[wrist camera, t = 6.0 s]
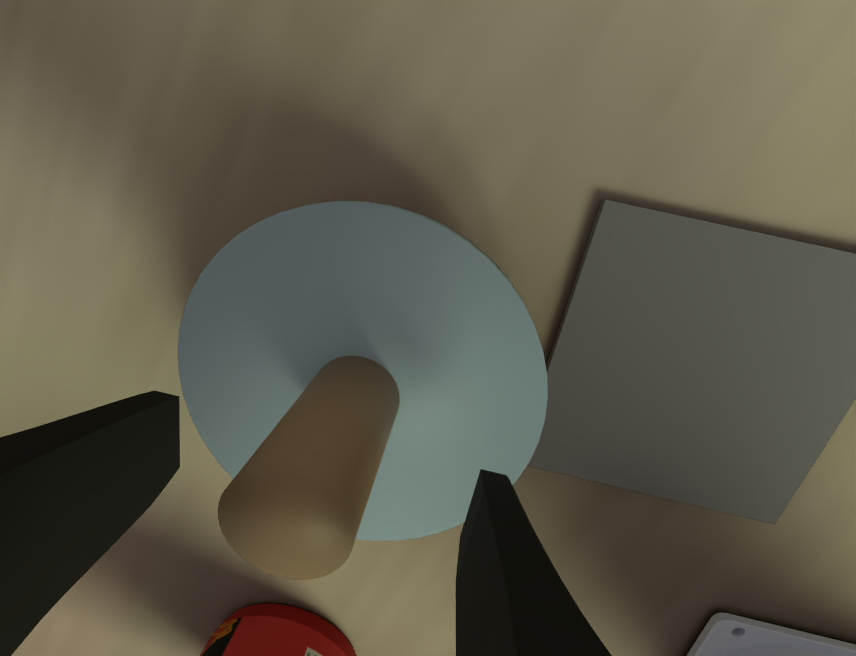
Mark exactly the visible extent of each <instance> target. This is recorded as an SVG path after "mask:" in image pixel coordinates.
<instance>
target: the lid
mask: <svg viewBox="0 0 856 656" xmlns="http://www.w3.org/2000/svg"><path fill="white" fill-rule="evenodd" d="M178 366H179V376H180V381H181V386H182V391H183V395H184V398H185V401H186V404H187V407H188V410H189V413H190V416H191V418H192V420H193V422H194V424H195V426H196V428H197V430H198V433H199V434H200V436H201V438H202V439H203V441H204V442H205V444H206V446H207V447H208V449H209V450H210V452H211V453H212V455H213V456H214V457H215V458H216V460H217V461H218V462H219V463H220V465H221V466H222V467H223V468H224V470H225V471H226V472H227V473H228V474H229V475H230V476H231V477H232V478H233V480H232V481H231V483H230V484H229V485H228V486H227V488H226V489H225V490H224V492H223V494H222V496H221V498H220V501H219V506H218V519H219V524H220V527H221V530H222V533H223V535H224V537H225V538H226V540H227V542H228V543H229V545H230V546H231V547H232V548H233V549H234V551H235V552H236V553H237V554H238V555H239V556H240V557H242V558H243V559H244V560H245V561H247V562H248V563H250V564H251V565H253V566H254V567H256V568H258V569H260V570H262V571H264V572H266V573H269V574H271V575H274V576H277V577H282V578H286V579H294V580H307V579H314V578H319V577H322V576H325V575H328V574H330V573H332V572H334V571H335V570H336V569H338V568H339V567H340V566H341V565H342V564H343V563H344V562H345V561H346V560H347V558H348V557H349V555H350V553H351V550H352V547H353V544H354V541H355V539H360V540H370V541H396V540H406V539H415V538H419V537H424V536H428V535H433V534H436V533H439V532H442V531H445V530H448V529H451V528H454V527H456V526H458V525H460V524H462V523H464V522H465V519H466V516H467V512H468V509H469V506H470V502H471V499H472V496H473V493H474V489H475V486H476V483H477V479H478V476H479V473H480V469H483V470H487V471H491V472H496V473H500V474H504V475H507V476H508V478H509V479H510V481H511V483H512V485H513V484H514V483H515V482H516V481H517V480H518V478H519V477H520V475H521V474H522V472H523V471H524V469H525V468H526V466H527V465H528V463H529V462H530V460H531V457H532V455H533V453H534V451H535V449H536V447H537V444H538V442H539V439H540V436H541V432H542V429H543V425H544V422H545V416H546V408H547V400H548V386H547V371H546V365H545V359H544V353H543V349H542V346H541V343H540V340H539V337H538V334H537V331H536V328H535V325H534V323H533V320H532V318H531V316H530V314H529V312H528V310H527V308H526V306H525V304H524V302H523V300H522V298H521V297H520V295H519V294H518V292H517V291H516V289H515V288H514V286H513V285H512V283H511V282H510V280H509V279H508V278H507V276H506V275H505V274H504V273H503V272H502V271H501V270H500V269H499V267H498V266H497V265H496V264H495V263H494V262H493V261H492V260H491V259H490V258H489V257H488V256H487V255H486V254H485V253H484V252H482V251H481V250H480V249H479V248H478V247H476V246H475V245H474V244H473V243H472V242H470V241H469V240H468V239H466V238H465V237H463V236H462V235H460V234H458V233H457V232H455V231H454V230H452V229H451V228H449V227H447V226H446V225H444V224H442V223H439V222H437V221H435V220H433V219H431V218H429V217H426V216H424V215H422V214H420V213H416V212H413V211H410V210H407V209H403V208H400V207H397V206H393V205H387V204H381V203H375V202H369V201H333V202H324V203H315V204H310V205H305V206H301V207H298V208H294V209H290V210H286V211H282V212H280V213H277V214H275V215H273V216H270V217H268V218H266V219H263V220H261V221H259V222H257V223H255V224H254V225H252V226H251V227H249V228H247V229H246V230H244V231H243V232H241V233H239V234H238V235H236V236H235V237H234V238H233V239H232V240H231V241H230V242H228V243H227V244H226V245H225V246H224V247H223V248H222V249H220V250H219V251H218V252H217V254H216V255H215V256H214V257H213V258H212V260H211V261H210V262H209V263H208V264H207V266H206V267H205V268H204V270H203V271H202V273H201V275H200V276H199V278H198V280H197V281H196V283H195V285H194V286H193V288H192V291H191V293H190V296H189V298H188V301H187V303H186V306H185V308H184V312H183V316H182V321H181V325H180V329H179V340H178Z"/></svg>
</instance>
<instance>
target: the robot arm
mask: <svg viewBox="0 0 856 656" xmlns="http://www.w3.org/2000/svg"><path fill="white" fill-rule="evenodd" d="M179 467H180V433H179V396H175V395H171V394H166V393H162V392H158V391H151V392H147V393H143V394H139V395H136V396H132V397H129V398H126V399H123V400H119V401H116V402H113V403H110V404H107V405H104V406H100V407H97V408H94V409H91V410H88V411H85V412H82V413H79V414H76V415H72V416H69V417H66V418H63V419H60V420H57V421H54V422H51V423H48V424H44V425H41V426H38V427H35V428H31V429H28V430H24V431H21V432H18V433H14V434H11V435H7V436H4V437H1V438H0V656H11V655H12V654H13V653H14V651H15V650H16V649H17V648H18V647H19V645H20V644H21V643H22V642H23V641H24V639H25V638H26V637H27V636H28V635H29V633H30V632H31V631H32V630H33V629H34V627H35V626H36V625H37V624H38V623H39V621H40V620H41V619H42V618H43V617H44V616H45V615H46V614H47V613H48V612H49V610H50V609H51V608H52V607H53V606H54V605H55V604H56V603H57V602H58V601H59V600H60V598H61V597H62V596H63V595H64V594H65V593H66V592H67V591H68V590H69V589H70V588H71V587H72V586H73V585H74V584H75V583H76V582H77V581H78V580H79V579H80V578H81V577H82V576H83V575H84V574H85V573H86V572H87V571H88V570H89V569H90V568H91V567H92V566H93V565H94V564H95V563H96V562H97V561H98V559H99V558H100V557H101V556H102V555H103V554H104V553H105V552H106V551H107V550H108V549H109V548H110V547H111V546H112V545H113V544H114V543H115V542H116V541H117V540H118V539H119V538H120V537H121V536H122V535H123V534H124V533H125V532H126V531H127V530H128V529H129V528H130V527H131V526H132V525H133V524H134V522H135V521H136V520H137V519H138V518H139V517H140V516H141V515H142V514H143V513H144V512H145V511H146V510H147V509H148V508H149V507H150V506H151V504H152V503H153V502H154V501H155V499H156V498H157V497H158V495H159V494H160V493H161V492H162V490H163V489H164V488H165V486H166V485H167V484H168V482H169V481H170V480H171V478H172V477H173V476H174V474H175V473H176V472H177V470H178V469H179ZM456 656H611V654H610V653H609V651H608V650H607V649H606V647H605V646H604V644H603V643H602V642H601V640H600V639H599V637H598V636H597V634H596V633H595V632H594V630H593V629H592V627H591V626H590V624H589V623H588V621H587V620H586V618H585V617H584V615H583V614H582V612H581V611H580V609H579V607H578V606H577V604H576V603H575V601H574V600H573V598H572V596H571V595H570V593H569V591H568V590H567V588H566V586H565V585H564V583H563V582H562V580H561V578H560V576H559V575H558V573H557V571H556V570H555V568H554V566H553V564H552V563H551V561H550V559H549V557H548V555H547V553H546V552H545V550H544V548H543V546H542V544H541V542H540V541H539V539H538V537H537V535H536V533H535V531H534V529H533V527H532V525H531V523H530V521H529V519H528V517H527V515H526V513H525V511H524V509H523V507H522V505H521V503H520V501H519V499H518V496H517V494H516V492H515V490H514V488H513V486H512V483H511V481H510V479H509V478H508V476H507V475H504V474H500V473H496V472H491V471H487V470H483V469H480V473H479V476H478V479H477V483H476V486H475V489H474V493H473V496H472V499H471V502H470V506H469V509H468V512H467V516H466V519H465V522H464V526H463V529H462V532H461V536H460V544H459V554H458V564H457V574H456ZM687 656H856V645H855V644H851V643H847V642H843V641H839V640H835V639H831V638H827V637H823V636H819V635H814V634H810V633H806V632H802V631H798V630H794V629H790V628H786V627H782V626H778V625H774V624H769V623H765V622H761V621H757V620H753V619H749V618H745V617H741V616H737V615H733V614H728V613H717V614H714V615H713V616H712V617H711V618H710V620H709V621H708V623H707V624H706V626H705V628H704V629H703V631H702V632H701V634H700V635H699V637H698V639H697V640H696V642H695V643H694V645H693V646H692V648H691V650H690V651H689V653H688V654H687Z"/></svg>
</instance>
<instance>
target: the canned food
mask: <svg viewBox="0 0 856 656" xmlns="http://www.w3.org/2000/svg"><path fill="white" fill-rule="evenodd" d="M200 656H356V654H355V652H354V650H353V647H352V646H351V644H350V643H349V642H348V640H347V639H346V638H345V636H344V635H343V634H342V633H341V632H340V631H339V630H338V629H337V628H336V627H334V626H333V625H332V624H330V623H329V622H327V621H326V620H325V619H323V618H321V617H319V616H317V615H315V614H313V613H311V612H309V611H306V610H303V609H301V608H298V607H293V606H289V605H284V604H273V603H268V604H255V605H251V606H247V607H244V608H242V609H239V610H237V611H235V612H234V613H233V614H231V615H230V616H229V617H228V618H227V619H226V620H225V621H224V622H223V623H222V624H221V625H220V626H219V627H218V628H217V629H216V630H215V631H214V633H213V634H212V636H211V637H210V639H209V640H208V642H207V644H206V646H205V647H204V649H203V651H202V653H201V654H200Z"/></svg>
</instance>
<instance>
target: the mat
mask: <svg viewBox="0 0 856 656" xmlns="http://www.w3.org/2000/svg"><path fill="white" fill-rule="evenodd" d="M546 371H547V386H548V400H547V408H546V416H545V422H544V425H543V429H542V432H541V436H540V439H539V442H538V444H537V447H536V449H535V451H534V453H533V455H532V457H531V460H530V462H529V463H528V465H527V466H530V467H535V468H539V469H543V470H547V471H552V472H556V473H560V474H564V475H568V476H573V477H577V478H581V479H585V480H590V481H594V482H598V483H602V484H606V485H611V486H615V487H619V488H623V489H628V490H632V491H636V492H640V493H644V494H649V495H653V496H657V497H661V498H665V499H670V500H674V501H678V502H682V503H687V504H691V505H695V506H699V507H703V508H708V509H712V510H716V511H720V512H725V513H729V514H733V515H737V516H741V517H746V518H750V519H754V520H758V521H763V522H767V523H771V524H775V523H776V522H777V520H778V519H779V517H780V516H781V514H782V512H783V511H784V509H785V508H786V506H787V505H788V503H789V502H790V500H791V498H792V497H793V495H794V494H795V492H796V491H797V489H798V488H799V486H800V484H801V483H802V481H803V480H804V478H805V477H806V475H807V474H808V472H809V470H810V469H811V467H812V466H813V464H814V463H815V461H816V460H817V458H818V456H819V455H820V453H821V452H822V450H823V449H824V447H825V446H826V444H827V442H828V441H829V439H830V438H831V436H832V435H833V433H834V432H835V430H836V428H837V427H838V425H839V424H840V422H841V421H842V419H843V418H844V416H845V414H846V413H847V411H848V410H849V408H850V407H851V405H852V404H853V402H854V400H855V399H856V254H855V253H851V252H846V251H841V250H837V249H832V248H827V247H823V246H818V245H814V244H809V243H804V242H800V241H795V240H790V239H786V238H781V237H777V236H772V235H767V234H763V233H758V232H753V231H749V230H744V229H740V228H735V227H730V226H726V225H721V224H716V223H712V222H707V221H703V220H698V219H693V218H689V217H684V216H680V215H675V214H670V213H666V212H661V211H656V210H652V209H647V208H643V207H638V206H633V205H629V204H624V203H619V202H615V201H610V200H606V199H602V200H601V203H600V206H599V209H598V212H597V215H596V218H595V221H594V224H593V227H592V230H591V233H590V236H589V239H588V242H587V245H586V248H585V251H584V254H583V257H582V260H581V263H580V266H579V269H578V272H577V275H576V278H575V281H574V284H573V287H572V290H571V293H570V296H569V299H568V302H567V305H566V308H565V311H564V314H563V317H562V320H561V323H560V326H559V329H558V332H557V335H556V338H555V341H554V344H553V347H552V350H551V353H550V356H549V359H548V362H547V365H546Z"/></svg>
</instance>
